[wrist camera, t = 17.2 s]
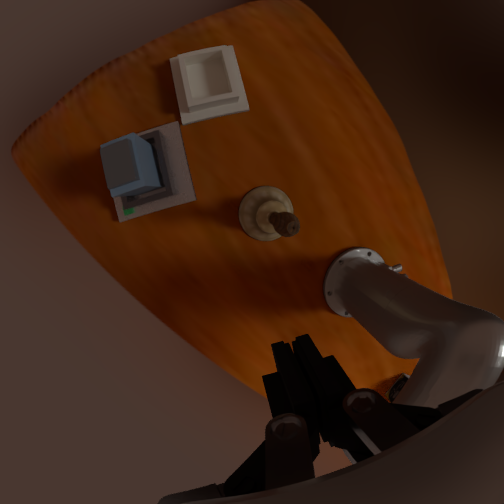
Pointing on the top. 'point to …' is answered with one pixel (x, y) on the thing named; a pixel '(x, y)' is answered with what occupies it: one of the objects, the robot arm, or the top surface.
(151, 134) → the port
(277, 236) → the hand bell
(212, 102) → the box
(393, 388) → the medicine bottle
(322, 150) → the top surface
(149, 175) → the plug
